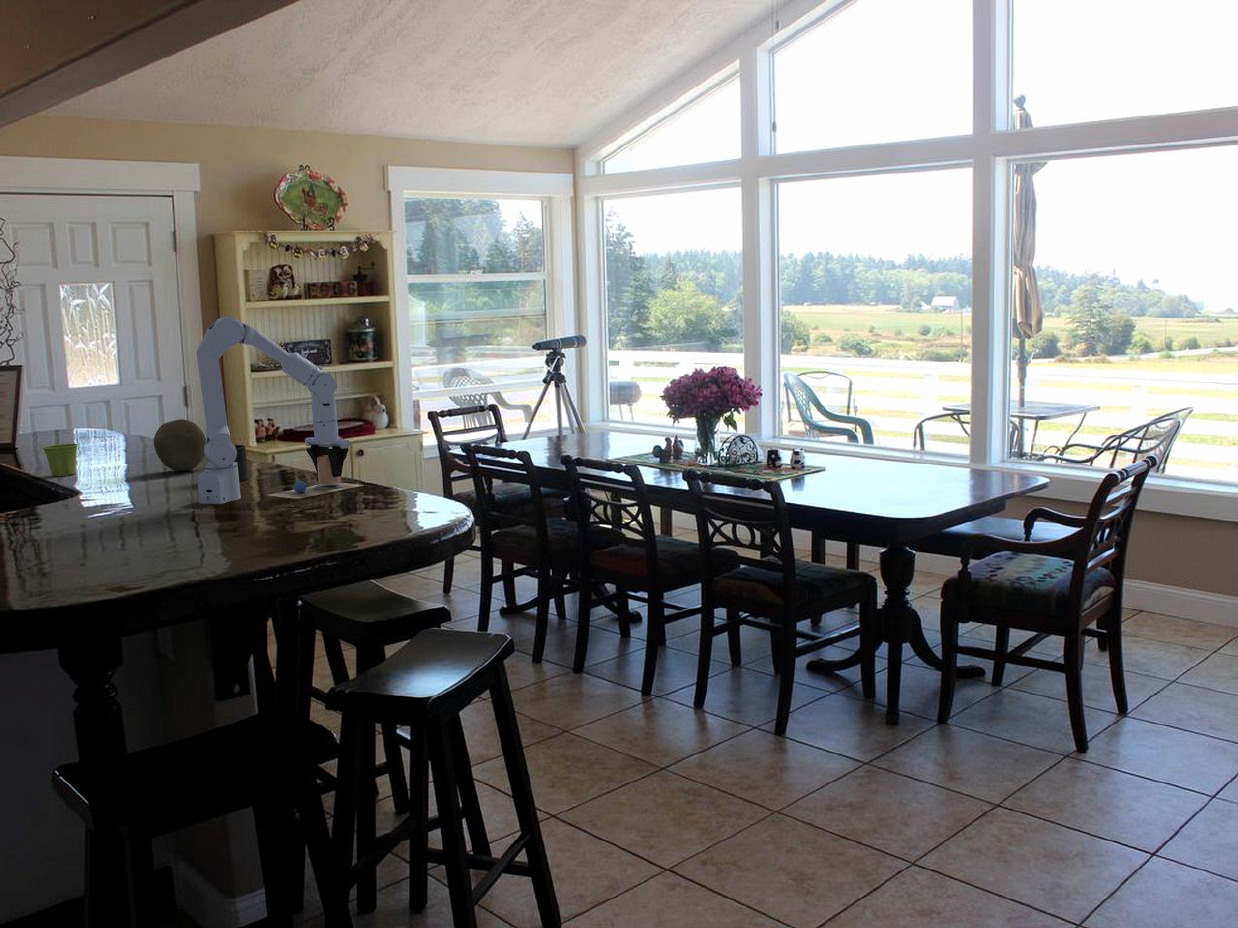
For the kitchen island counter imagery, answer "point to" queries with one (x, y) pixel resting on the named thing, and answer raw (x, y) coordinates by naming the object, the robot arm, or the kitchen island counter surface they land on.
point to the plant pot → (61, 459)
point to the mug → (241, 462)
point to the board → (315, 490)
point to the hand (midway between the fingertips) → (329, 475)
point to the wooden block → (326, 471)
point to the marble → (300, 486)
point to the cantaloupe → (180, 444)
